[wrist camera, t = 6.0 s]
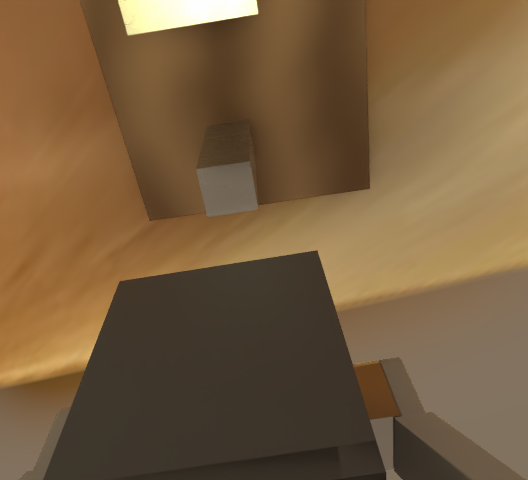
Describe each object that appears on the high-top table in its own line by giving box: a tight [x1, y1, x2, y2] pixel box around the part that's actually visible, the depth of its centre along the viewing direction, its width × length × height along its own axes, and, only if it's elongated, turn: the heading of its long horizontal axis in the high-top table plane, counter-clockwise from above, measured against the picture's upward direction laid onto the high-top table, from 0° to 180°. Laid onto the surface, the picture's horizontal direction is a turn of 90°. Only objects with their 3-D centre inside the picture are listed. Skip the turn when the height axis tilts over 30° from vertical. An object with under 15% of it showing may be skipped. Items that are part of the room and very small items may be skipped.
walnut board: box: [80, 0, 370, 221], centre depth 25 cm, size 15×19×1 cm
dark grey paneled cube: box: [43, 251, 386, 480], centre depth 10 cm, size 5×5×6 cm
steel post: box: [196, 120, 258, 217], centre depth 25 cm, size 3×3×7 cm
